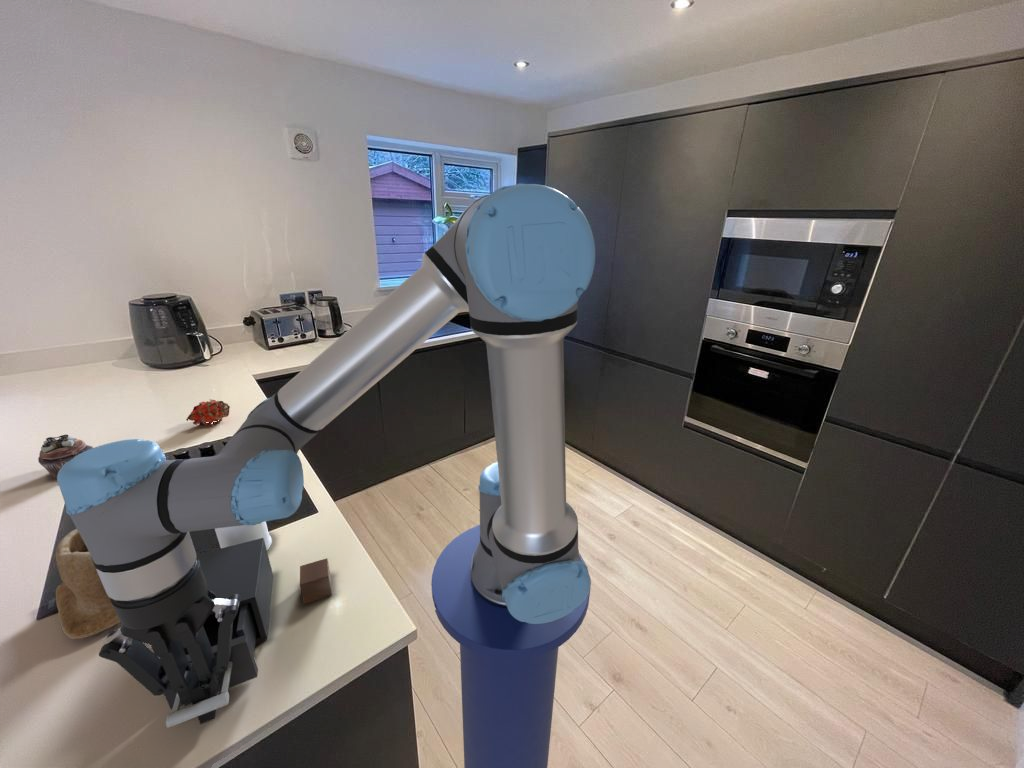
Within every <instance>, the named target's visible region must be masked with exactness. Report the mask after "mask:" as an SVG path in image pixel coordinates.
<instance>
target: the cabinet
mask: <svg viewBox="0 0 1024 768" xmlns="http://www.w3.org/2000/svg"><path fill="white" fill-rule="evenodd" d="M196 556H197V558H198V560H199V562H200V565H201V568H202V571H203V574H204V577H205V580H206V584H207V587H208V589H209V590H210V591H212V592H214V593H215V595H216V598H220V599H229V597H230V596H232V595H234V594H238V595H240V602H239V606H241V605H244V604H247V603H251V606H252V610H253V613H254V617H255V620H256V623H257V634H256V642H255V644H257V643H260V642H263V641H266V640H268V636H269V626H270V625H269V624H270V617H271V605H272V597H273V596H272V595H273V583H274V573H273V568H272V565H271V561H270V558H269V553H268V550H267V549H266V545H265V542H264V538H260V539H256V540H252V541H249V542H245V543H241V544H237V545H233V546H229V547H225V548H218V549H217V548H216V549H214V550H210V551H206V552H203V553H198V554H196ZM212 614H215V612H214V611H212V612H211V613H210V615H212Z"/></svg>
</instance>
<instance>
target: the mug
mask: <svg viewBox="0 0 1024 768" xmlns="http://www.w3.org/2000/svg"><path fill="white" fill-rule="evenodd" d="M214 532H215V534H216V538H217V541H218V544H219V547H220V548H219V549H221V548H225V547H229V546H233V545H237V544H241V543H245V542H249V541H252V540H256V539H260V538H264V542H265V545H266V549H267V551H268V550H270V549H271V548H270V547H271V546H272V543H273V539H272V537H271V535H270V533H269V529H268V525H267V521H265V522H262V523H261V524H256V525H249V526H248V525H242V526H233V527H224V528H216V529H214Z"/></svg>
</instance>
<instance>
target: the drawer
mask: <svg viewBox="0 0 1024 768" xmlns="http://www.w3.org/2000/svg"><path fill="white" fill-rule="evenodd" d="M219 624H220V622H218V621H217V618H216V617H215V614H212V615H209V616H208V618H207V620H206V621H205V623H204V624H203V627H204V629H205V632H206V635H207V637H208V640H209V643H210V645H211V648H212V651H213V654H214V656H215V657H216V656H217V645H218V629H219ZM256 634H257V623H256V620H255V617H254V613H253V610H252V606H251V603H247V604H244V605H241V606H239V608H238V613H237V615H236V617H235V619H234V621H233V629H232V644H231V654H230V659H229V664H228V669H227V670H226V671H225V672H223V673H219V675H220V678H221V683H220V688H219V692H220V694H219V693H218V694H217V696H214V697H212V698H209V699H206V700H204V701H201V702H198V703H196V704H193V705H192V704H190V705H187V706H184V705H183V704H182V702H181V700H180V698H179V696H178V693H177V692H174V691H173V690H166V692H165V693H164V694H163V696H164V699H165V701H166V702H167V705H168V707H169V709H170V710H171V712H169V713H168V714H167V715H166V719H165V726H166V728H168V729H169V728H172V727H174V726H176V725H180V724H182V723H184V722H186V721H189V720H192V719H195V718H198V717H197V716H200V715H202V714H205V713H207V712H210V711H212V710H215V709H216V710H217V709H221V708H222V707H223V708H224V707H226V706H227V705H229V703H230V693H229V688H233V687H235V686H237V685H240V684H243V683H246V682H248V681H251V680H253V679H256V678H258V675H259V674H258V673H259V668H258V665H257V662H256V658H255V651H256V650H255V649H256V643H255V642H256ZM180 642H181V640H180ZM181 644H182V642H181ZM182 647H183V645H182ZM183 649H184V652H185V654H186V657H187V659H188V662H189V663H190V665H191V663H192V660H191V658H190V655H189V653H188V650H187V648H184V647H183ZM192 670H195V668H194V665H193V663H192V667H191V671H190V673H192ZM182 706H184V707H182ZM181 707H182V708H181Z"/></svg>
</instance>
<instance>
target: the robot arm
mask: <svg viewBox="0 0 1024 768" xmlns="http://www.w3.org/2000/svg"><path fill="white" fill-rule="evenodd" d="M595 264H596V244H595V238H594V234H593V231H592V228H591V225H590V223H589V221H588V219H587V217H586V216H585V213H584V212H583V211H582V210H581V208H580V207H579V206H577V204H576V203H575V201H574V200H572V199H571V198H570V197H569V196H567V195H566V194H564V193H563V192H561V191H560V190H558V189H557V188H554V187H551V186H547V185H543V184H538V183H520V182H519V183H516V184H513V185H512V184H511V185H504V186H500V187H499V188H497V189H495V190H494V191H493V192H491V193H490V194H489V193H488V194H486V195H483V196H481V197H479V198H478V199H475V200H474V201H473V202H472V203H471V204H469V205H468V206H467V207H466V208H465V209H464V211H463V212H462V213H461V214H460V215H459V216H458V217H457V219H456V220H455V221H454V222H453V223H452V225H451V226H449V228H448V229H447V231H445V233H444V234H443V235H442V236H441V237H440V238H439V239H438V240H437V241H436V242H434V244H433V245H432V246H430V247H429V249H427V250H426V251H425V252H424V253H422V259H421V266H420V267H419V268H418V269H417V270H416V271H415V272H413V273H412V274H411V275H410V276H409V277H407V279H406V280H404V281H403V282H402V283H401V284H400V285H399V286H397V287H396V288H395V289H393V290H392V291H391V293H389V294H388V295H387V296H385V298H383V299H382V300H381V301H380V302H379V303H378V304H376V305H375V306H374V307H373V308H372V309H371V310H370V311H368V312H367V313H366V314H365V315H364V316H363V317H362V318H360V319H359V320H358V321H357V322H356V323H354V325H352V326H351V327H350V328H349V329H347V331H345V332H344V333H343V334H341V336H339V337H338V339H336V340H335V341H333V343H332V344H331V345H329V346H328V347H327V348H326V349H325V350H323V351H322V352H321V353H320V354H319V355H318V356H316V357H315V358H314V359H313V360H312V361H311V362H310V363H308V364H307V365H306V366H305V367H304V368H302V370H300V371H299V372H298V373H297V374H296V375H294V377H292V378H291V379H290V380H289V381H287V382H286V383H285V384H284V385H283V386H282V387H280V389H279V390H278V391H277V392H276V393H274V394H273V395H272V396H270V397H268V398H266V399H264V400H263V401H261V402H260V403H258V404H257V405H256V406H255V407H254V408H253V409H251V411H250V413H248V415H247V417H246V419H245V421H244V422H243V423H242V424H241V425H240V427H239V428H238V429H237V430H236V432H235V433H234V434H233V435H232V437H231V438H230V439H229V440H228V441H227V442H226V443H225V445H223V447H222V448H221V449H220V451H219V452H218V453H217V454H216V455H213V456H203V457H202V456H201V457H193V458H183V459H167V457H166V454H165V453H164V452H163V450H162V448H161V447H160V445H159V444H158V443H157V442H155V441H154V440H145V439H141V438H132V439H131V438H129V439H123V440H117V441H112V442H108V443H105V444H102V445H98V446H95V447H93V448H92V449H90V450H87V451H85V452H83V453H81V454H79V455H77V456H75V457H74V458H73V459H72V460H70V461H68V462H67V463H65V464H64V465H63V467H62V468H61V469H60V470H59V472H58V476H57V479H56V482H57V484H58V487H59V490H60V492H61V496H62V498H63V502H64V505H65V513H66V514H67V515H68V516H69V517H70V519H71V521H72V523H73V525H74V527H75V529H77V530H78V532H79V534H80V536H81V537H82V539H83V541H84V543H85V545H86V547H87V549H88V551H89V553H90V555H91V559H92V561H93V563H94V565H95V567H96V570H97V572H98V575H99V577H100V579H101V582H102V584H103V586H104V589H105V591H106V593H107V595H108V596H109V597H110V600H111V603H112V605H113V607H114V610H115V612H116V614H117V616H118V618H119V620H120V622H119V623H120V624H121V626H120V629H113V630H111V631H109V632H108V634H107V635H106V638H105V641H104V642H103V644H102V646H101V648H100V650H99V652H98V657H100V658H103V659H105V660H109V661H112V662H115V663H117V665H119V666H120V667H121V668H122V669H124V670H125V672H127V673H128V674H129V675H130V676H131V677H133V679H135V680H136V681H137V682H138V683H139V684H140V685H142V686H143V687H144V688H145V690H147V691H148V692H150V693H151V695H153V696H155V697H158V696H162V695H164V693H165V692H166V690H173V691H174V692H177V693H178V696H179V698H180V700H181V702H182V704H183V705H182V706H184V707H188V706H190V705H193V704H196V703H198V702H201V701H204V700H206V699H209V698H212V697H214V696H217V695H219V692H220V691H219V688H220V683H221V678H220V675H219V673H223V672H225V671H226V670H227V669H228V664H229V659H230V654H231V644H232V629H233V621H234V619H235V617H236V615H237V613H238V608H239V602H240V595H238V594H234V595H232V596H230V597H229V599H220V598H216V595H215V593H214V592H212V591H210V590H209V589H208V587H207V584H206V580H205V577H204V574H203V571H202V568H201V565H200V562H199V560H198V558H197V556H196V555H197V552H196V551H197V550H196V548H195V547H194V542H193V540H192V537H191V534H190V532H197V531H207V530H213V529H214V530H215V529H216V528H224V527H233V526H242V525H248V526H249V525H256V524H261V523H262V522H265V521H266V522H270V521H277V520H281V519H286V518H289V517H291V516H292V515H295V513H296V512H297V511H298V509H299V507H300V506H301V503H302V500H303V490H304V484H305V483H304V482H305V481H304V469H303V464H302V460H301V458H300V456H299V454H298V453H299V451H300V450H301V449H302V448H303V447H304V446H305V445H306V444H307V443H308V442H309V441H311V440H312V439H313V438H314V437H316V436H317V435H318V434H319V433H320V432H321V431H322V430H323V429H324V428H325V427H326V426H328V425H329V424H330V423H331V422H332V421H333V420H335V419H336V418H337V417H338V416H339V415H341V413H343V412H344V411H345V410H346V409H348V407H350V406H351V405H352V404H353V403H354V402H356V401H357V400H358V399H359V398H360V397H362V395H364V394H365V393H366V392H367V391H369V390H370V389H371V388H372V387H373V386H375V385H376V384H377V383H379V381H380V380H382V379H383V378H384V377H385V376H386V375H388V374H389V373H390V372H391V371H393V370H394V369H395V368H396V367H397V366H398V365H399V364H401V363H402V362H403V361H404V360H405V359H406V358H408V357H409V356H410V355H411V354H412V353H414V351H415V350H417V349H418V348H419V347H420V346H422V345H423V344H425V342H426V341H427V340H429V339H430V338H431V337H432V336H434V335H435V334H436V333H437V332H438V331H439V330H441V329H442V328H443V327H445V325H446V324H447V323H449V322H450V321H451V320H453V319H454V318H455V317H456V316H457V315H458V314H459V313H468V315H469V323H470V324H469V325H470V330H471V332H473V333H474V334H475V335H476V336H477V337H479V338H480V339H481V340H482V341H483V342H484V343H485V345H486V355H487V364H488V376H489V387H490V398H491V407H492V417H493V418H492V419H493V430H494V439H495V450H496V460H497V461H495V462H493V463H490V465H488V466H486V467H485V468H484V469H483V470H482V471H481V473H480V476H479V484H478V487H477V489H478V492H479V525H480V541H479V543H478V546H477V549H476V551H475V554H474V553H473V555H474V556H472V562H471V582H472V585H473V588H474V589H475V591H476V593H477V594H478V595H479V596H480V597H481V598H482V599H483V600H485V601H486V602H488V603H490V604H492V605H494V606H497V607H501V608H507V609H508V611H509V612H510V614H511V615H512V616H513V617H514V618H515V619H517V620H519V621H521V622H526V623H529V624H542V623H547V622H551V621H554V620H557V619H560V618H562V617H564V616H566V615H568V614H569V613H571V612H572V611H573V610H574V609H575V608H577V607H578V606H579V605H580V604H581V603H582V602H583V601H584V600H585V598H586V597H587V595H588V593H589V591H590V592H591V586H592V579H591V575H590V574H589V573H588V572H589V569H588V565H587V564H586V562H585V563H583V562H582V560H581V557H580V555H581V553H580V550H579V520H578V519H579V518H578V515H577V513H576V511H575V509H574V508H573V506H571V505H570V504H569V503H568V502H567V477H566V476H567V474H566V470H567V468H566V466H567V465H566V415H565V414H566V413H565V358H564V353H565V352H564V351H565V349H564V339H565V337H566V336H567V335H568V334H569V333H570V332H571V331H572V330H573V329H574V328H575V327H576V325H578V302H579V300H580V297H581V296H582V295H583V293H584V292H585V291H587V289H588V287H589V285H590V283H591V280H592V277H593V274H594V271H595V266H596V265H595ZM212 611H214V612H215V617H216V618H217V621H218V622H220V624H219V629H218V645H217V656H216V657H215V656H214V654H213V651H212V648H211V645H210V643H209V640H208V637H207V635H206V632H205V629H204V627H203V624H204V623H205V621H206V620H207V618H208V616H209V615H210V613H211V612H212ZM180 640H181V642H182V644H181V642H180ZM146 644H147V645H150V647H151V649H150V648H149V647H148V646H147V645H146ZM182 645H183V647H184V648H187V650H188V653H189V655H190V658H191V660H192V663H193V665H194V668H195V670H192V673H190V671H191V667H192V663H191V665H190V663H189V662H188V659H187V657H186V654H185V652H184V649H183V647H182ZM216 714H217V709H215V710H212V711H210V712H207V713H205V714H202V715H200V716H197V717H196V718H197V719H198V722H199V724H200V725H203V724H205V723H208V722H210V721H212V720H215V719H216Z"/></svg>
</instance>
